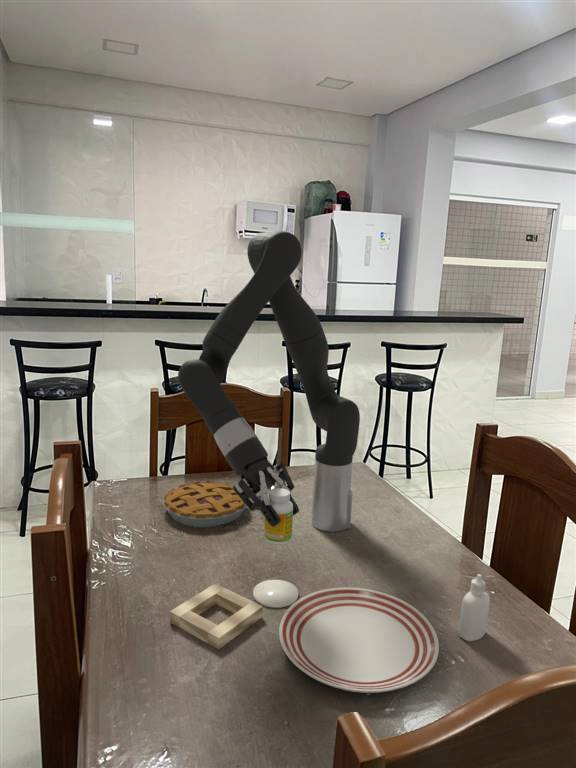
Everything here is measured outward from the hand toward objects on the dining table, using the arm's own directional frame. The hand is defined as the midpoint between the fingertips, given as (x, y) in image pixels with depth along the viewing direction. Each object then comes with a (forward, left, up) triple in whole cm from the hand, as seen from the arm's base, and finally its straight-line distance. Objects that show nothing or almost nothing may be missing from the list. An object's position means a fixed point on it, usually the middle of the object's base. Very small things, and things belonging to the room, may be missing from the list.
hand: (286, 518), depth 112 cm
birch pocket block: (+13, +6, -17) cm, 22 cm away
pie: (+14, -41, -17) cm, 47 cm away
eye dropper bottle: (-33, +15, -17) cm, 40 cm away
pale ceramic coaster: (+1, -1, -17) cm, 17 cm away
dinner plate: (-11, +16, -17) cm, 26 cm away
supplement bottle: (+1, -1, -5) cm, 5 cm away
